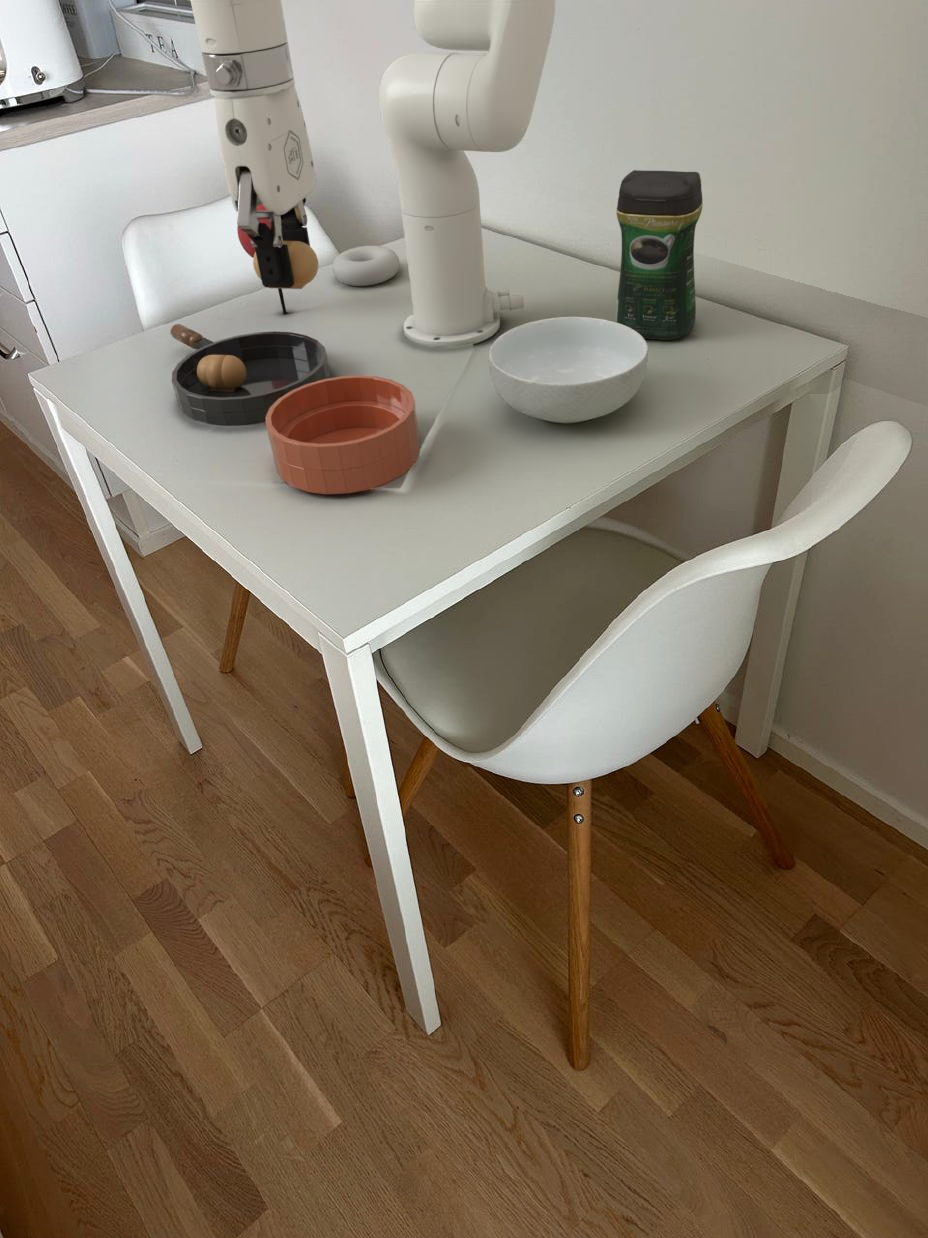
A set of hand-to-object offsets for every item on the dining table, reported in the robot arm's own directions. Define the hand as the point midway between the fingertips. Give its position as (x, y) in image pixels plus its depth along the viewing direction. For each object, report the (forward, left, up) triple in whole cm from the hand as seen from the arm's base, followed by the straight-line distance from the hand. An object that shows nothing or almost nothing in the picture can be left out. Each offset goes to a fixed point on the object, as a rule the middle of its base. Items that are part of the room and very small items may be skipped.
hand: (288, 275), depth 97 cm
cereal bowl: (-28, +4, -18) cm, 33 cm away
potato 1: (+10, -14, -17) cm, 24 cm away
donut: (-12, -46, -18) cm, 50 cm away
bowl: (-3, +7, -18) cm, 19 cm away
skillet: (+6, -13, -18) cm, 23 cm away
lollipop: (+1, -37, -18) cm, 41 cm away
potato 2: (0, 0, -1) cm, 1 cm away
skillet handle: (+13, -24, -15) cm, 32 cm away
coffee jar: (-44, -12, -18) cm, 48 cm away
